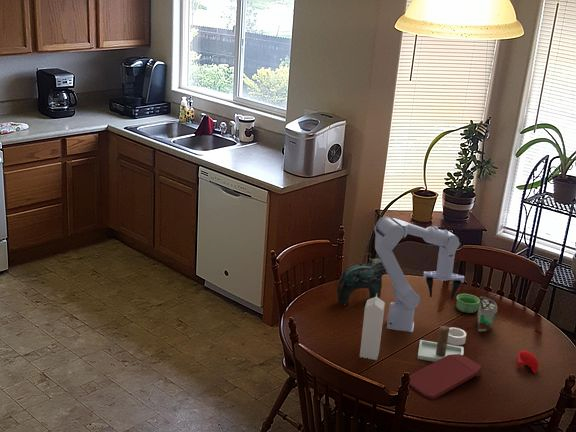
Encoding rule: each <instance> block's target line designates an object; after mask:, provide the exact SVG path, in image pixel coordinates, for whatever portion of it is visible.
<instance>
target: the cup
mask: <svg viewBox="0 0 576 432" xmlns="http://www.w3.org/2000/svg"><path fill="white" fill-rule="evenodd" d="M448 328H449V334H448V341H447V344H448V345H454V346H463V345H464V344H466V339H467V332H466V331H465V330H464V329H461V328H459V327H448Z"/></svg>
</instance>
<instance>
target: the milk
mask: <svg viewBox="0 0 576 432" xmlns="http://www.w3.org/2000/svg"><path fill="white" fill-rule="evenodd" d="M385 306H386V302H385V301H383V300H382V299H381V298H380V299H379V298H378V297H377V294H376V297H374V298H371V299H370V298H368V299H367V300H366V303H365V306H364V314H363V322H362V331H361V339H360V341H361V342H360V351H359V358H362V357H363V359H367V358H368V360H373V361H378V358H379V353H380V347H381V341H382V340H381V339H382V331H383V322H384V314H385Z"/></svg>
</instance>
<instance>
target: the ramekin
mask: <svg viewBox="0 0 576 432" xmlns="http://www.w3.org/2000/svg"><path fill="white" fill-rule="evenodd" d="M479 300H480V297H478V296H476V295H472V294H469V293H459V294H458V295H457V296H456V309H457V310H458V311H460V312H462V313H466V314H473V313H476V312H478V308H479Z"/></svg>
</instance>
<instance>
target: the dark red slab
mask: <svg viewBox="0 0 576 432" xmlns="http://www.w3.org/2000/svg"><path fill="white" fill-rule="evenodd" d="M481 376H482V365H481V364H479V363H477V362H476V361H474V360H473V359H471V358H469V357H468V356H466V355H465V354H463V355H460V354H453V355H447V356H445V357H443V358H441V359H440V360H438V361H436V362H432V363H430V364H428V365H426V366H424V367H422V368H421V369H419V370H417V371H415V372H414V373H411V374H410V379H411V380H410V386H409V387H411V388H412V389H414V390H415V391H416V392H418V393H419V394H421V396H422V397H425V398H429V399H432V400H435V399H437V398H439V397H440V396H441V397H442V396H443V395H444V394H446V393H448V392H449V391H451V390H453V389H455V388H456V387H459V386H460V385H462V384H464V383H465V382H467V381H469V380H470V379H473V378H474V377H477V378H478V377H481Z"/></svg>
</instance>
